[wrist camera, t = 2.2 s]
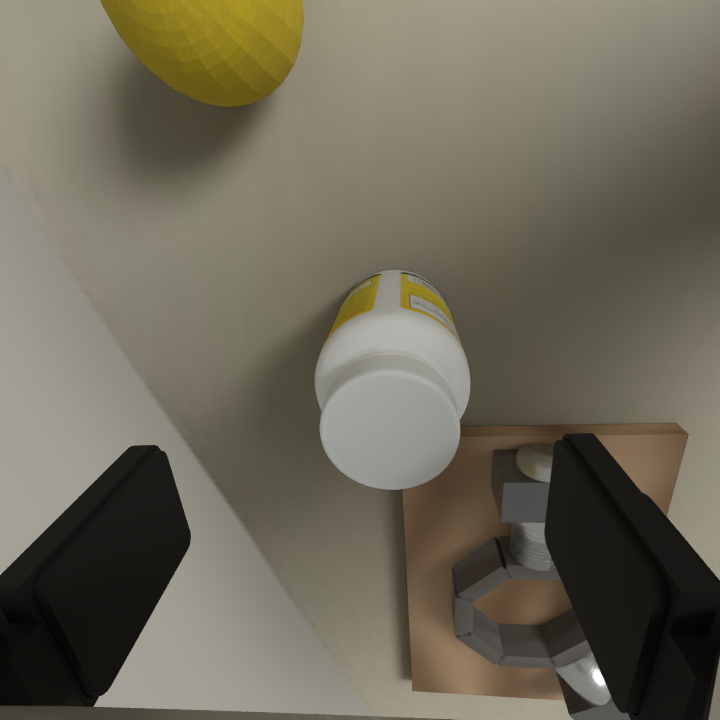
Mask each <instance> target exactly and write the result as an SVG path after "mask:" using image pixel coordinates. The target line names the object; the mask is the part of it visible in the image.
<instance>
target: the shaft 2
mask: <svg viewBox="0 0 720 720" xmlns="http://www.w3.org/2000/svg"><path fill="white" fill-rule="evenodd" d="M554 669H555V670H556V673H557V676H558V679H559V683H560V686H561V689H562V692H563V696H564V699H565V702H566V705H567V709H568V712H569V715H570V716H571V717H572V718H573V719H574V720H631V719H630V717H629V715H628V713H621V712H620V711H619V710H618V709H617V707H616V706H615V704H614V702H613V700H612V697H611V695H610V693H609V690H608V688H607V686H606V683H605V681H604V679H603V676H602V674H601V672H600V669H599V667H598V665H597V662H596V660H595V658H594V655H593V653H592V652H590V653H588V654H586V655H584V656H582V657H580V658H578V659H576V660H574V661H572V662H570V663H568V664H566V665H564V666H562V667H560V668H558V667H556V666H555V665H554Z"/></svg>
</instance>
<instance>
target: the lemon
mask: <svg viewBox="0 0 720 720" xmlns="http://www.w3.org/2000/svg"><path fill="white" fill-rule="evenodd" d="M101 3H102V5H103V7H104V9H105V11H106V12H107V14H108V16H109V18H110V20H111V22H112V23H113V25H114V27H115V29H116V31H117V32H118V34H119V36H120V37H121V38H122V39H123V41H124V42H125V43H126V44H127V46H128V47H129V48H130V49H131V50H132V52H133V53H134V54H135V55H136V57H137V58H138V59H139V60H140V61H141V63H142V64H143V65H144V66H145V67H146V68H148V69H149V70H150V71H151V72H152V73H154V74H155V75H156V76H157V77H159V78H160V79H161V80H162V81H164V82H165V83H166V84H167V85H169V86H170V87H171V88H173V89H174V90H176V91H178V92H180V93H182V94H184V95H186V96H188V97H191V98H193V99H195V100H197V101H199V102H202V103H205V104H211V105H217V106H224V107H235V106H241V105H248V104H252V103H254V102H256V101H258V100H260V99H262V98H264V97H267V96H268V95H270V94H271V93H272V92H273V91H274V90H275V89H276V88H277V87H278V86H280V85H281V84H282V83H283V81H284V80H285V78H286V77H287V75H288V74H289V72H290V70H291V69H292V67H293V66H294V63H295V60H296V57H297V54H298V51H299V48H300V45H301V37H302V29H303V21H304V16H303V3H302V0H101Z"/></svg>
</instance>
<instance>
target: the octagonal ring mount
mask: <svg viewBox="0 0 720 720" xmlns="http://www.w3.org/2000/svg"><path fill="white" fill-rule="evenodd" d="M573 433H593V434H594V435H595V436H596V437H597V438H598V439H599V441H600V442H601V443H602V444H603V445H604V447H605V448H606V449H607V450H608V452H609V453H610V454H611V455H612V456H613V458H614V459H615V460H616V461H617V462H618V464H619V465H620V466H621V467H622V469H623V470H624V471H625V472H626V473H627V475H628V476H629V477H630V478H631V480H632V481H633V482H634V483H635V484H636V486H637V487H638V488H639V489H640V491H641V492H642V493H644V494H647V495H648V496H649V497H650V498H651V499H652V500H653V501H654V502H655V504H656V505H657V506H658V507H659V508H660V510H661V511H662V512H663V513H664V514H665V516H667V513H668V509H669V505H670V501H671V498H672V494H673V490H674V487H675V483H676V479H677V476H678V472H679V468H680V464H681V461H682V457H683V453H684V450H685V446H686V442H687V438H688V435H689V434H688V433H687V432H686V431H684V430H683V429H682V428H681V427H680V426H679V425H678V424H677V423H659V424H592V425H525V426H460V440H459V445H458V448H457V450H456V453H455V455H454V457H453V459H452V460H451V462H450V463H449V465H448V466H447V467H446V468H445V469H444V470H443V471H442V472H441V473H440V474H439V475H437V476H436V477H434V478H433V479H431V480H429V481H428V482H426V483H423V484H420V485H418V486H415V487H411V488H407V489H402V492H403V512H404V532H405V552H406V572H407V592H408V612H409V632H410V652H411V672H412V691H420V692H436V693H453V694H469V695H485V696H501V697H518V698H534V699H550V700H565V699H564V696H563V692H562V689H561V686H560V683H559V679H558V676H557V673H556V670H555V669H554V665H555V666H556V667H558V668H560V667H562V666H564V665H566V664H568V663H570V662H572V661H574V660H576V659H578V658H580V657H582V656H584V655H586V654H588V653H590V652H592V651H591V648H590V646H589V644H588V641H587V639H586V637H585V635H584V632H583V630H582V628H581V625H580V623H579V621H578V618H577V616H576V614H575V611H574V609H573V607H572V604H571V602H570V600H569V597H568V595H567V593H566V590H565V588H564V586H563V583H562V581H561V579H560V576H559V574H558V572H557V569H556V568H554V569H552V570H548V571H538V570H533V569H530V568H528V567H526V566H524V565H522V564H521V563H519V562H518V561H517V560H516V559H515V558H514V556H513V555H512V553H511V551H510V546H509V544H510V532H511V523H509V522H501V520H500V517H499V513H498V510H497V506H496V503H495V499H494V495H493V492H492V488H491V476H492V457H493V450H499V449H519V448H521V447H522V446H524V445H526V444H530V443H547V444H552V445H554V444H555V442H556V441H557V440H562V438H563V436H564V435H565V434H573Z"/></svg>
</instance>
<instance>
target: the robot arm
mask: <svg viewBox="0 0 720 720" xmlns="http://www.w3.org/2000/svg"><path fill="white" fill-rule="evenodd" d="M544 536H545V542H546V546H547V549H548V551H549V553H550V556H551V558H552V560H553V563H554V565H555V567H556V569H557V572H558V574H559V576H560V579H561V581H562V583H563V586H564V588H565V590H566V593H567V595H568V597H569V600H570V602H571V604H572V607H573V609H574V611H575V614H576V616H577V618H578V621H579V623H580V625H581V628H582V630H583V632H584V635H585V637H586V639H587V641H588V644H589V646H590V648H591V651H592V653H593V655H594V658H595V660H596V662H597V665H598V667H599V669H600V672H601V674H602V676H603V679H604V681H605V683H606V686H607V688H608V690H609V693H610V695H611V697H612V700H613V702H614V704H615V706H616V707H617V709H618V710H619V711H620V712H621V713H628V715H629V717H630V719H631V720H720V580H719V579H718V578H717V577H716V576H715V574H714V573H713V572H712V571H711V570H710V568H709V567H708V566H707V565H706V564H705V562H704V561H703V560H702V559H701V558H700V556H699V555H698V554H697V553H696V552H695V550H694V549H693V548H692V547H691V546H690V544H689V543H688V542H687V541H686V540H685V538H684V537H683V536H682V535H681V534H680V532H679V531H678V530H677V529H676V528H675V526H674V525H673V524H672V523H671V522H670V520H669V519H668V518H667V517H666V516H665V514H664V513H663V512H662V511H661V510H660V508H659V507H658V506H657V505H656V504H655V502H654V501H653V500H652V499H651V498H650V497H649V496H648V495H647V494H644V493H642V492H641V491H640V489H639V488H638V487H637V486H636V484H635V483H634V482H633V481H632V480H631V478H630V477H629V476H628V475H627V473H626V472H625V471H624V470H623V469H622V467H621V466H620V465H619V464H618V462H617V461H616V460H615V459H614V458H613V456H612V455H611V454H610V453H609V452H608V450H607V449H606V448H605V447H604V445H603V444H602V443H601V442H600V441H599V439H598V438H597V437H596V436H595V435H594V434H593V433H573V434H565V435H564V436H563V438H562V440H557V441H556V442H555V444H554V450H553V459H552V468H551V476H550V485H549V494H548V502H547V511H546V520H545V528H544ZM190 540H191V534H190V530H189V526H188V523H187V520H186V516H185V513H184V510H183V507H182V503H181V500H180V497H179V494H178V490H177V487H176V484H175V480H174V477H173V474H172V470H171V467H170V464H169V460H168V457H167V455H166V453H165V452H164V451H161V450H160V448H159V447H158V446H156V445H144V446H143V445H141V446H131V447H129V448H128V449H127V450H126V451H125V452H124V453H123V454H122V455H121V456H120V457H119V458H118V459H117V460H116V461H115V462H114V463H113V464H112V465H111V466H110V467H109V468H108V469H107V470H106V471H105V472H104V473H103V474H102V475H101V476H100V477H99V478H98V479H97V480H96V481H95V482H94V483H93V484H92V485H91V486H90V487H89V488H88V489H87V490H86V491H85V492H84V493H83V494H82V495H81V496H80V497H79V498H78V499H77V500H76V501H75V502H74V503H73V504H72V505H71V506H70V507H69V508H68V509H67V510H66V511H64V513H62V514H61V516H59V518H57V519H56V520H55V521H54V523H52V524H51V525H50V527H48V528H47V529H46V530H45V531H44V532H43V534H41V535H40V536H39V537H38V538H37V539H36V540H35V541H34V542H33V543H32V544H31V545H30V546H29V548H27V549H26V550H25V551H24V552H23V553H22V554H21V555H20V556H19V557H18V558H17V559H16V560H15V561H14V562H13V563H12V564H11V565H10V566H9V567H8V568H7V569H6V570H5V571H4V572H3V573H2V574H1V575H0V720H451V719H427V718H403V717H379V716H352V715H325V714H297V713H269V712H240V711H211V710H180V709H179V710H178V709H145V708H111V707H93V706H94V705H95V703H96V701H97V699H98V697H99V696H101V695H103V694H105V692H107V691H108V689H109V688H110V686H111V685H112V683H113V681H114V680H115V678H116V676H117V674H118V672H119V670H120V669H121V667H122V665H123V664H124V662H125V660H126V658H127V656H128V655H129V653H130V651H131V649H132V648H133V646H134V644H135V642H136V641H137V639H138V637H139V635H140V633H141V632H142V630H143V628H144V626H145V624H146V623H147V621H148V619H149V617H150V616H151V614H152V612H153V610H154V609H155V607H156V605H157V603H158V601H159V600H160V598H161V596H162V594H163V593H164V591H165V589H166V587H167V585H168V584H169V582H170V580H171V578H172V576H173V575H174V573H175V571H176V569H177V568H178V566H179V564H180V562H181V560H182V559H183V557H184V555H185V553H186V552H187V550H188V548H189V545H190Z"/></svg>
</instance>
